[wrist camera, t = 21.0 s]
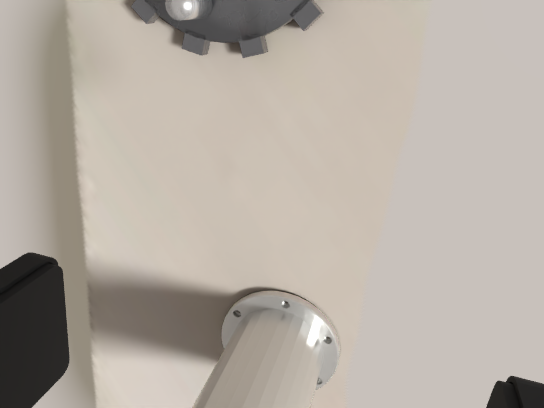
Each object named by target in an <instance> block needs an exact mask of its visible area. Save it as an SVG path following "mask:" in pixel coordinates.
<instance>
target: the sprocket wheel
mask: <svg viewBox="0 0 544 408" xmlns="http://www.w3.org/2000/svg"><path fill="white" fill-rule="evenodd" d="M131 7H132V8H133V9H134V10H135V11H136V13H137V14H138V15H139V16H140V17H141V18H142V19H143V21H144V22H145V23H146V24H149V23H154V22H155V21H156V20H157V18H158V17H159V16H160V17H161V18H162V19H164V20H165V21H166V22H167V23H169V24H170V25H172V26H173V27H175V28H177V29H178V30H180V31H182V32H184V33H185V34H184V39H183V44H182V49H185V50H188V51H191V52H193V53H196V54H199V55H206V54H208V49H209V44H210V41H214V42H221V43H224V42H239V44H240V48H241V52H242V57H243V58H245V57H249V56H254V55H258V54H262V53H266V52H268V49H267V44H266V40H265V35H268V34H270V33H272V32H274V31H276V30H278V29H280V28H282V27H283V26H285V25H286V24H288V23H289V22H291V21H292V20H293V19H294V20H295V21H296V23H297V24H298V25H299V26H300V27H301V29H302V30H303V31H305V30H307V29H308V28H309V27H310V26H311V25H312V24H313V23H314V22H315V21H316V20H317V19H318V18H319V17H320V16H321V15H322V14H323V13H324V12H323V11H322V10H321V9H320V7H319V6H318V5H317V4H316V3H315V1H314V0H136V1H135V2H134V3H133V5H132V6H131Z"/></svg>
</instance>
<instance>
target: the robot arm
mask: <svg viewBox="0 0 544 408" xmlns="http://www.w3.org/2000/svg"><path fill="white" fill-rule="evenodd" d="M221 338H222V345H223V348H224V351H223V353H222V355H221V357H220V358H219V360H218V362H217V364H216V366H215V367H214V369H213V371H212V373H211V375H210V376H209V378H208V380H207V382H206V384H205V385H204V387H203V389H202V391H201V393H200V394H199V396H198V398H197V400H196V402H195V403H194V405H193V407H192V408H310V407H311V403H312V400H313V396H314V392H315V390H317V389H319V388H321V387H323V386H324V385H325V384H326V383H327V382H329V381H330V379H331V378H332V376H333V375H334V374H335V371H336V368H337V366H338V362H339V357H340V344H339V340H338V336H337V334H336V331H335V329H334V327H333V325H332V324H331V323H330V321H329V320H328V318H327V317H326V316H325V315H324V314H323V313H322V312H321V311H320V310H319V309H318V308H317V307H315V306H314V305H312V304H311V303H310V302H308V301H306V300H304V299H302V298H300V297H298V296H295V295H292V294H289V293H286V292H280V291H260V292H255V293H252V294H249V295H247V296H245V297H243V298H241V299H240V300H239V301H237V302H236V303H235V304H234V305H233V306H232V307H231V309H230V310H229V312H228V314H227V315H226V317H225V319H224V322H223V325H222V331H221ZM68 364H69V347H68V334H67V320H66V307H65V294H64V281H63V271H62V269H61V267H59V266H58V262H57V261H56V260H55V259H54V258H51V257H47V256H44V255H40V254H36V253H27V254H24V255H22V256H21V257H19V258H18V259H16V260H14V261H13V262H11V263H9V264H8V265H6V266H5V267H3V268H1V269H0V408H32V407H33V406H34V405H35V404H36V402H38V400H39V399H40V398H41V397H42V396H43V395H44V394H45V393H46V392H47V391H48V390H49V389H50V388H51V387H52V386H53V385H54V384H55V383H56V382H57V381H58V380H59V379H60V378H61V377H62V376H63V374H64V373H65V371H66V370H67V367H68ZM486 408H544V384H542V383H538V382H534V381H530V380H526V379H522V378H519V377H514V376H510V377H509V378H508V379H507V381H506V382H502V381H497V382H496V384H495V386H494V388H493V391H492V393H491V396H490V399H489V401H488V404H487V407H486Z"/></svg>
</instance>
